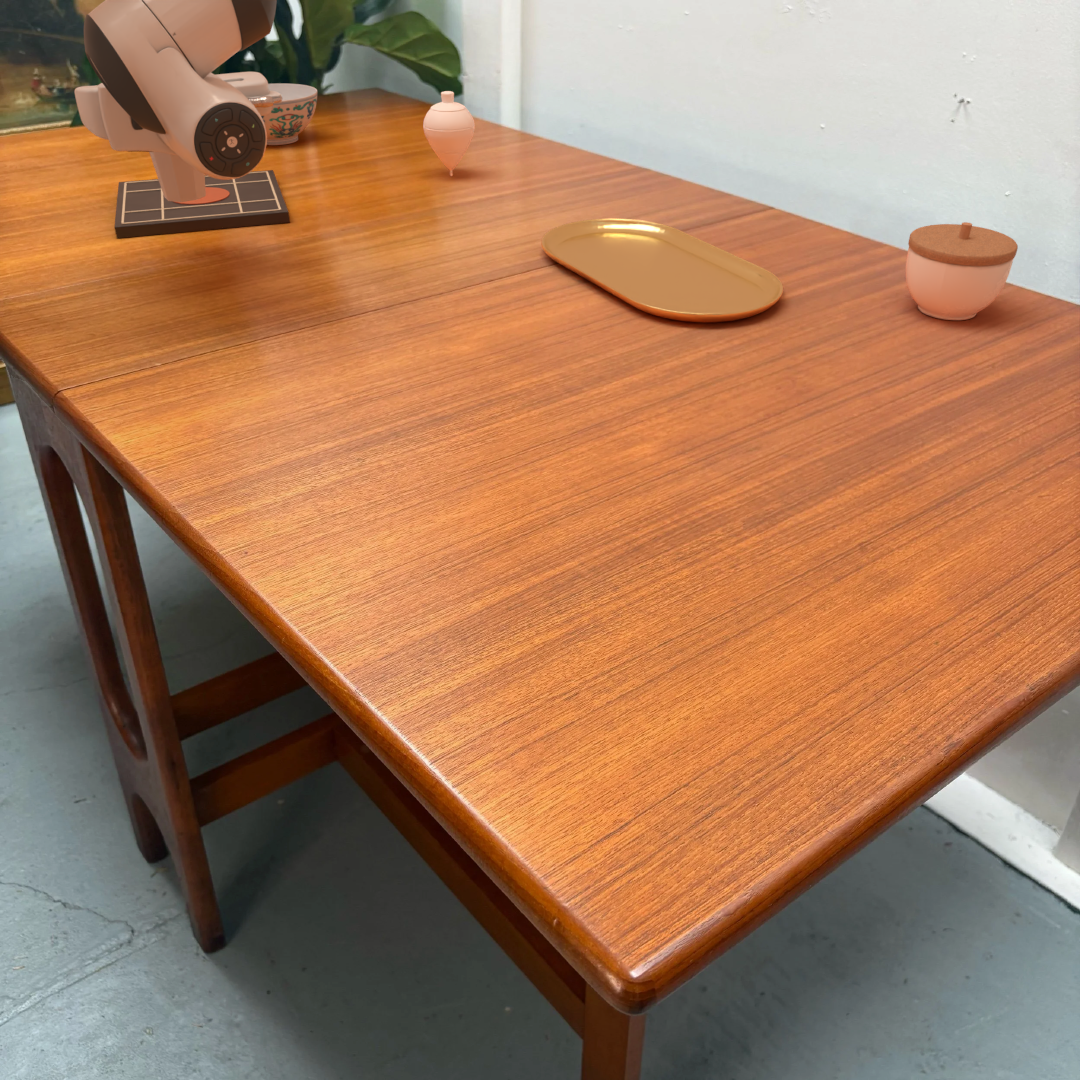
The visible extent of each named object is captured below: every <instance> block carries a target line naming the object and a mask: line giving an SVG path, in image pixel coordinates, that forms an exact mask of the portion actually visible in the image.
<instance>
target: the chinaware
mask: <svg viewBox="0 0 1080 1080" xmlns="http://www.w3.org/2000/svg"><path fill="white" fill-rule="evenodd" d="M268 87H269V91H276V92H278V93H280V94H281V96H282V102H281V103H275V104H273V106H271V108H272V110H271V113H269V114H268V115H264V116H261V117H262V119H263V121H264V124H265V127H266V131H267V145H266V146H283V145H290V144H294V143H296V142H297V141H299V134H301V133H302V132H303V131H305V129H306V128H307V127H308V125H309V124H310V122H311V121H312V119H313V117H314V115H315V111H316V109H317V104H318V103H317V102H318V89H317V88H315V87H314V86H311V85H307V84H299V83H268Z"/></svg>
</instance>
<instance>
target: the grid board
mask: <svg viewBox="0 0 1080 1080" xmlns="http://www.w3.org/2000/svg"><path fill="white" fill-rule="evenodd" d="M117 187H118V188H117V195H116V196H117V197H116V206H115V216H114V217H115V218H114V227H113V228H114V233H115V236H116V239H125V238H137V237H147V236H158V235H159V236H160V235H169V234H170V235H171V234H179V233H180V234H181V233H192V232H203V231H212V230H224V229H234V228H245V227H256V226H267V225H279V224H288V223H291V220H290V211H289V209H288V206H287V204H286V202H285V199H284V196H283V193H282V189H281V188H280V185H279V182H278V180H277V177H276V174H275V172H274V169H269V170H257V171H256V170H253V171H251V172H250V173H248V174H246V175H245V176H242V177H239V178H236V179H230V180H221V179H216V178H213V177H210V176H207V175H205V190H206V196H204V197H202V198H200V199H198V200H193V201H186V202H175V201H168V200H167V199H166V198H165V197H164V195H163V192H162V189H161V186H160V183H159V180H158V178H154V179H142V180H140V179H139V180H128V181H119V182H118V186H117Z"/></svg>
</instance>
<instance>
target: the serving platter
mask: <svg viewBox="0 0 1080 1080" xmlns="http://www.w3.org/2000/svg"><path fill="white" fill-rule="evenodd" d="M540 244H541V245H540V246H541V248H542V250H543V252H544V253H545V254H546V255H547V256H548V257H549V258H550V259H551V260H553V261H554V262H556V263H558V264H559V265H561V266H562V267H564V268H566V269H568V270H570V271H571V272H573V273H575V274H576V275H578V276H580V277H581V278H584V279H585V280H587V281H589V282H590V283H592V284H594V285H596V286H597V287H599V288H601V289H603V290H604V291H606V292H608V293H610V294H612V295H613V296H614V297H616V298H618V299H619V300H621V301H623V302H624V303H627V304H628V305H630V306H631V307H634V308H636V309H638V310H640V311H641V312H644V313H647V314H649V315H653V316H655V317H660V318H663V319H667V320H673V321H679V322H688V323H689V322H690V323H722V322H723V323H724V322H732V321H737V320H743V319H746V318H750V317H753V316H756V315H758V314H760V313H763V312H765V311H767V310H769V309H770V308H771V307H773V306H775V304H776V303H777V302H778V301H779V300H780V299H781V297H782V295H783V293H784V286H783V283H782V281H781V280H780V278H779V277H778V276H777V275H775V274H774V273H773V272H772V271H770V270H768V269H766V268H765V267H762V266H760V265H758V264H755V263H753V262H751V261H749V260H746V259H744V258H742V257H740V256H738V255H735V254H734V253H731V252H729V251H727V250H725V249H722V248H721V247H718V246H716V245H713V244H711V243H709V242H707V241H705V240H703V239H700V238H698V237H696V236H694V235H691V234H689V233H687V232H685V231H682V230H680V229H678V228H676V227H674V226H670V225H667V224H663V223H660V222H657V221H649V220H644V219H634V218H620V217H619V218H618V217H617V218H616V217H615V218H614V217H613V218H611V217H610V218H608V217H607V218H591V219H583V220H577V221H573V222H568V223H565V224H564V223H563V224H561V225H558V226H555V227H554V228H551V229H550V230H548V231H547V232H546V233H544V234H543V236H542V238H541V240H540Z"/></svg>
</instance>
